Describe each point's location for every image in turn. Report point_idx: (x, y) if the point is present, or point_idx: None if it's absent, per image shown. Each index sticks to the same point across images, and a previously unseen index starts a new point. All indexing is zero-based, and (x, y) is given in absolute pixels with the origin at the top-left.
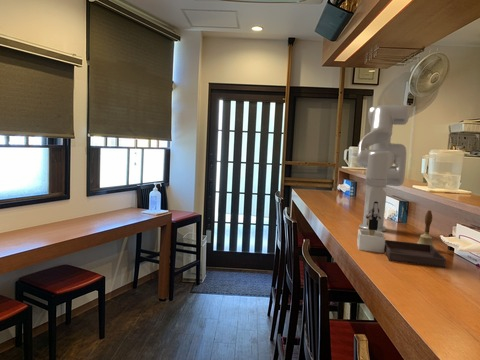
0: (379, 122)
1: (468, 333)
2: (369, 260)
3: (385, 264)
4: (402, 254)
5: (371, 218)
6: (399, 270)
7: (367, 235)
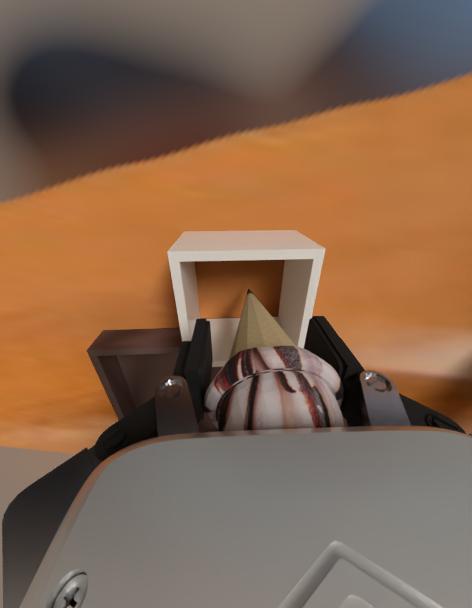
0: None
1: None
2: (51, 266)
3: (49, 316)
4: (101, 381)
5: (156, 396)
6: (21, 347)
7: (179, 294)
